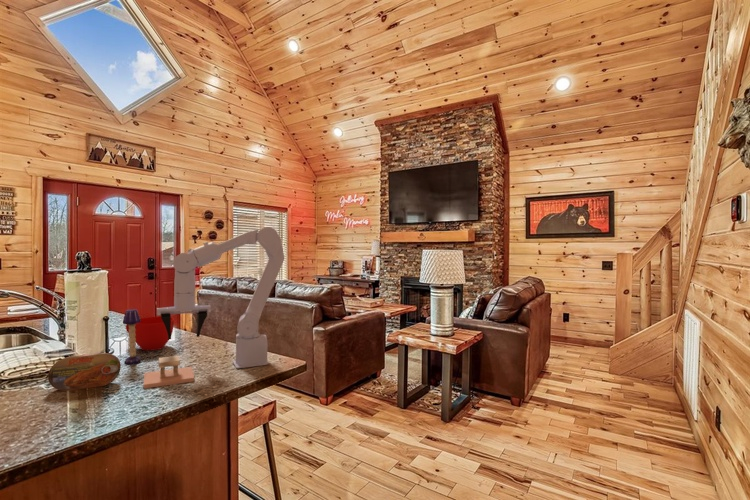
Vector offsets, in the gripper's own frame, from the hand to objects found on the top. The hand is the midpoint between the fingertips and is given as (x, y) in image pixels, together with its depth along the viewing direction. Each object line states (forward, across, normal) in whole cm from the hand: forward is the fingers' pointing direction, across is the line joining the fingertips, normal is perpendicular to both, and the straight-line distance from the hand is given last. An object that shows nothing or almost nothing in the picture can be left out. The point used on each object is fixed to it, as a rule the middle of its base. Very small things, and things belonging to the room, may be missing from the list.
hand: (184, 337), depth 114 cm
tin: (+10, +23, +5) cm, 25 cm away
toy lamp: (+10, +14, -12) cm, 21 cm away
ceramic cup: (+10, +10, -29) cm, 32 cm away
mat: (+9, +4, +8) cm, 13 cm away
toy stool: (+8, +4, +8) cm, 12 cm away
